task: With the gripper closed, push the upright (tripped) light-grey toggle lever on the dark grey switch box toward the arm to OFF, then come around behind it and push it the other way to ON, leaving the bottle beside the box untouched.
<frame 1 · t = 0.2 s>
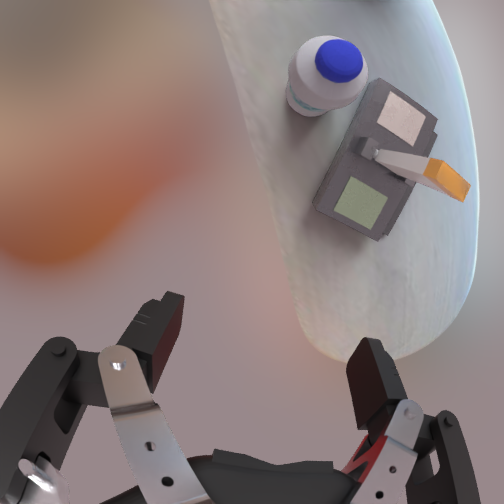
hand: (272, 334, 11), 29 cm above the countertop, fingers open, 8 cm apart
dark grey bar: (407, 179, 35), on the countertop
bottle: (308, 96, 32), on the countertop
lever: (412, 168, 23), point 12 cm above the countertop, hinge at 0.0°
switch box: (372, 157, 34), on the countertop
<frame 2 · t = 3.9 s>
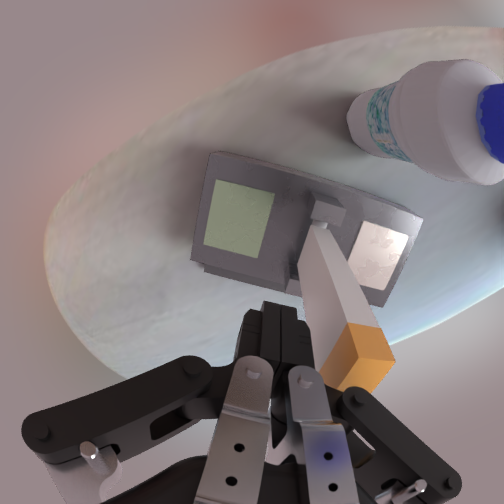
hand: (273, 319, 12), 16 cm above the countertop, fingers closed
dark grey bar: (287, 279, 30), on the countertop
bottle: (372, 124, 23), on the countertop
lever: (327, 290, 16), point 12 cm above the countertop, hinge at -1.4°, touching gripper
switch box: (306, 224, 27), on the countertop
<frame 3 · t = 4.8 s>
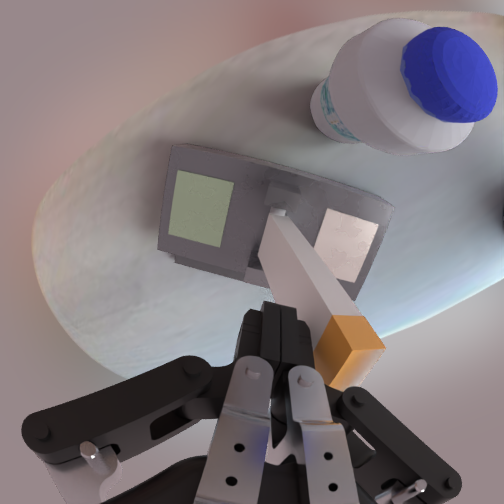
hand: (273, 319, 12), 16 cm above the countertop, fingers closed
dark grey bar: (257, 271, 30), on the countertop
bottle: (340, 111, 23), on the countertop
lever: (296, 280, 16), point 12 cm above the countertop, hinge at -14.9°, touching gripper
switch box: (273, 214, 27), on the countertop
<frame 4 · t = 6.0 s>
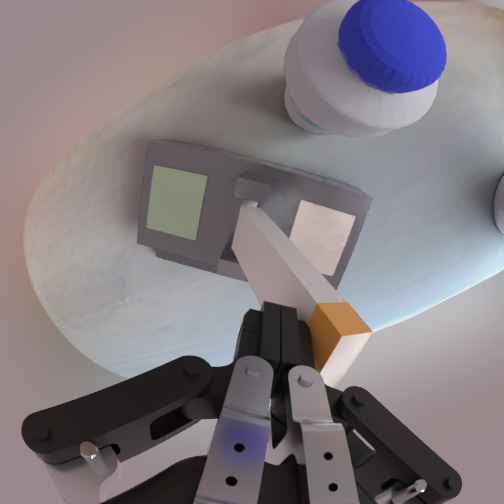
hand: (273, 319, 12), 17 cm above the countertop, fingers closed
dark grey bar: (236, 265, 30), on the countertop
bottle: (316, 103, 23), on the countertop
lever: (274, 270, 16), point 12 cm above the countertop, hinge at -22.7°, touching gripper
switch box: (250, 208, 27), on the countertop
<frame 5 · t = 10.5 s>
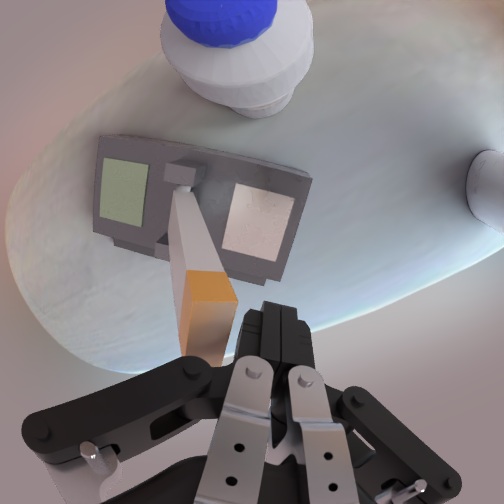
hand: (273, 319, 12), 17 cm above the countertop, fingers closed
dark grey bar: (187, 253, 30), on the countertop
bottle: (259, 89, 23), on the countertop
lever: (187, 248, 16), point 12 cm above the countertop, hinge at -22.7°, touching gripper
switch box: (197, 195, 27), on the countertop
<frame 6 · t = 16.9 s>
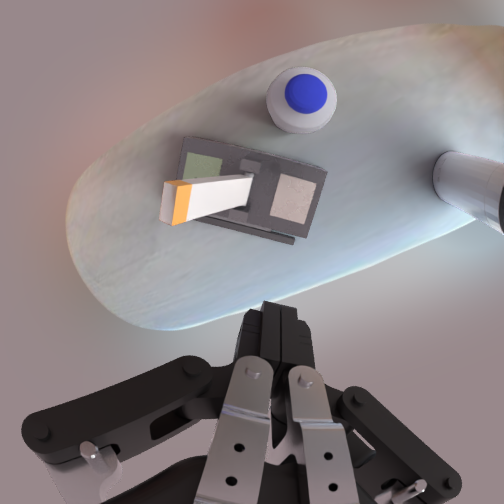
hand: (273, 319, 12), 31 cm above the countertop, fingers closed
dark grey bar: (239, 222, 43), on the countertop
bottle: (292, 112, 36), on the countertop
lever: (215, 194, 30), point 12 cm above the countertop, hinge at 22.7°
switch box: (249, 182, 40), on the countertop
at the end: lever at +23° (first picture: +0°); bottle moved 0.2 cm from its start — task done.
